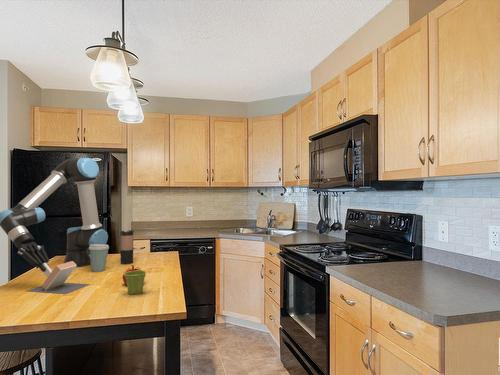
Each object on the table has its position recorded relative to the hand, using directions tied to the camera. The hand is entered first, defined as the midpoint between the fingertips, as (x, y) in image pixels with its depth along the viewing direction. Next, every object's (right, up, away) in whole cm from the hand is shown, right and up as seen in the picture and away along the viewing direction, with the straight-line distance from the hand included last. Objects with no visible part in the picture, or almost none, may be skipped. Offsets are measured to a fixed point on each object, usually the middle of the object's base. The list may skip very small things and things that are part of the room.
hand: (51, 275), depth 152 cm
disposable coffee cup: (+6, -7, +35) cm, 36 cm away
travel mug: (+14, -7, +56) cm, 58 cm away
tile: (0, -4, 0) cm, 4 cm away
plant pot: (+41, -6, -6) cm, 42 cm away
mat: (+4, -6, 0) cm, 7 cm away
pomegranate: (+35, -6, +7) cm, 37 cm away
